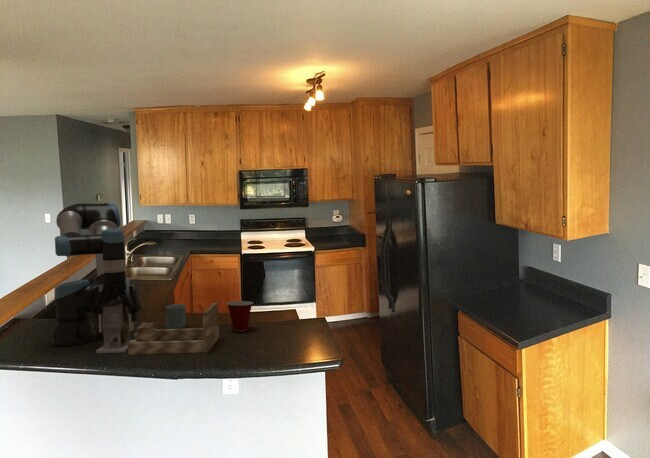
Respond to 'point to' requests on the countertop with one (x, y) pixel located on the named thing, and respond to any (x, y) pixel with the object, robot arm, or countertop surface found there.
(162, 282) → the countertop surface
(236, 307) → the plastic cup
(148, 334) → the offcut stack
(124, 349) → the mat
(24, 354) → the countertop surface
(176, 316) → the cup
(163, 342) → the rack
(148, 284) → the countertop surface
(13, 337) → the countertop surface
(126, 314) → the coffee box
